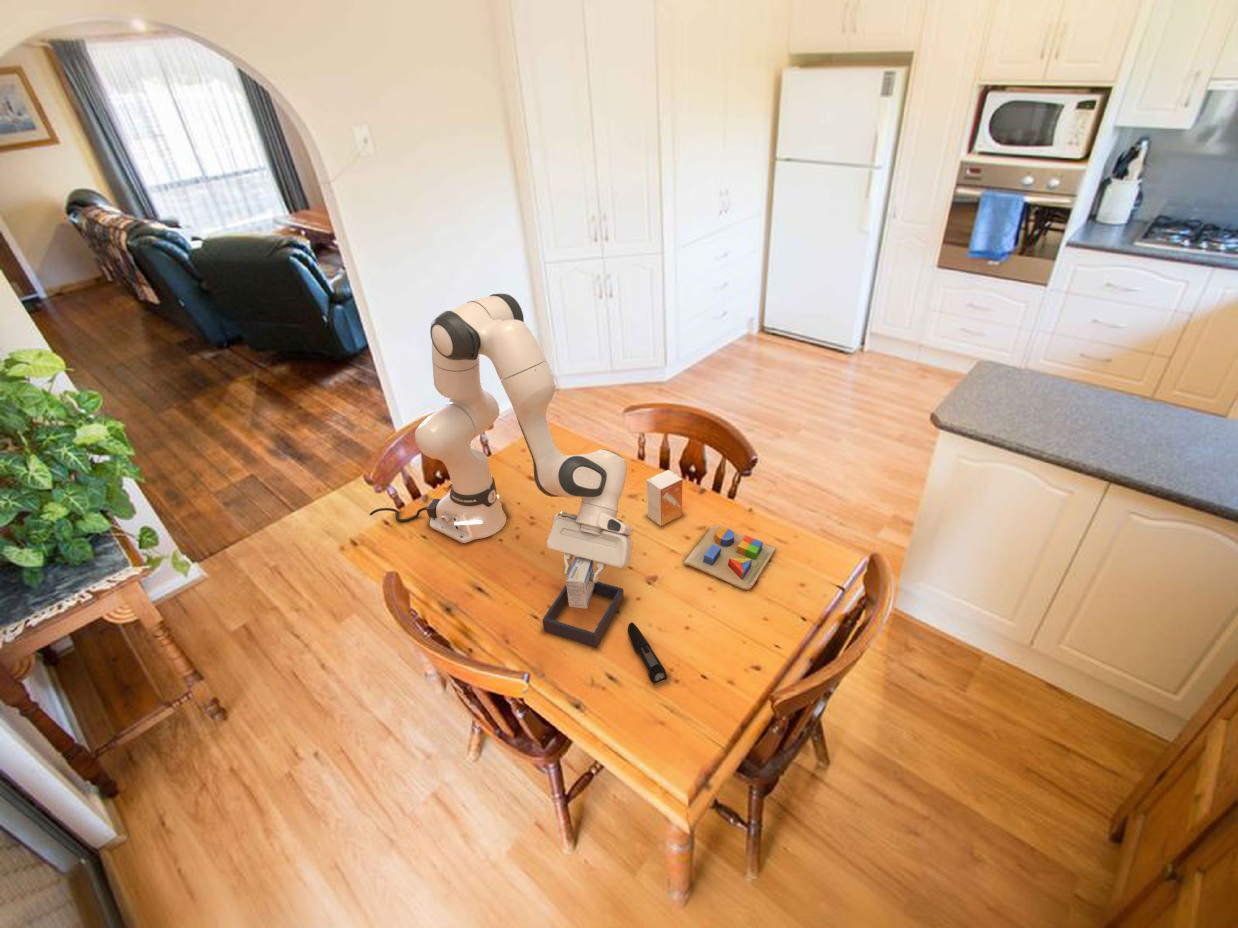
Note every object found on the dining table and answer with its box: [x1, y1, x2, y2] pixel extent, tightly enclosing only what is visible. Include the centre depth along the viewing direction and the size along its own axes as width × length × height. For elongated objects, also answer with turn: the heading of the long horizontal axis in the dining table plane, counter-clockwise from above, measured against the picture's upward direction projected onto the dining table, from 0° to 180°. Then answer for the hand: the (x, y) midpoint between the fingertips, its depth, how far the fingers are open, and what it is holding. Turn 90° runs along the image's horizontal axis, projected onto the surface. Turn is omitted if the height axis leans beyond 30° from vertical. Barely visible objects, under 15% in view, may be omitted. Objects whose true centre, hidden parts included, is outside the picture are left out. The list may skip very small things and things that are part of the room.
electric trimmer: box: [627, 622, 668, 685], centre depth 134 cm, size 4×16×3 cm, turn 22°
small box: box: [646, 469, 683, 527], centre depth 172 cm, size 8×6×13 cm
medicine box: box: [565, 556, 595, 609], centre depth 140 cm, size 8×4×9 cm, turn 168°
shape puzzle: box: [683, 524, 776, 591], centre depth 158 cm, size 18×19×4 cm
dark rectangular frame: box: [541, 581, 625, 648], centre depth 145 cm, size 14×16×4 cm
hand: (580, 578), depth 140 cm, fingers closed on medicine box, 5 cm apart
